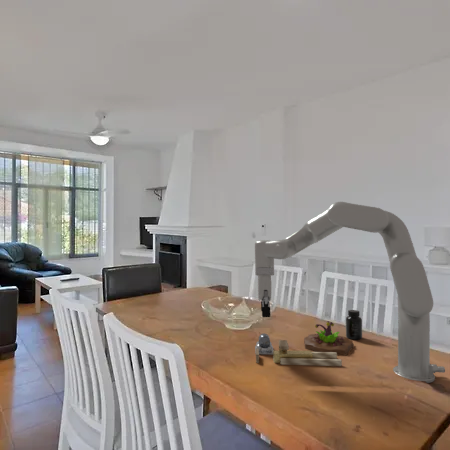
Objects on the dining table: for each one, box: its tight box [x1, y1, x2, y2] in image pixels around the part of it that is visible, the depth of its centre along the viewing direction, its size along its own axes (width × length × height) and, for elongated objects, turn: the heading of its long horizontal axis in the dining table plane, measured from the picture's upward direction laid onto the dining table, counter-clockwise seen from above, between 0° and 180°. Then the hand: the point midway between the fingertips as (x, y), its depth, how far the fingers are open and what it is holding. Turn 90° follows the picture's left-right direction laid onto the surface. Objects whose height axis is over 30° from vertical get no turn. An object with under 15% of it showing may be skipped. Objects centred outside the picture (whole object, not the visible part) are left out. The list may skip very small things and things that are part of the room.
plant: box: [303, 320, 354, 356], centre depth 147 cm, size 20×20×11 cm
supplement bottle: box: [345, 309, 363, 341], centre depth 158 cm, size 7×7×12 cm
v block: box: [254, 340, 274, 356], centre depth 142 cm, size 8×7×3 cm
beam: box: [255, 339, 343, 367], centre depth 131 cm, size 30×8×6 cm, turn 86°
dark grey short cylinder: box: [258, 333, 271, 348], centre depth 141 cm, size 5×4×4 cm
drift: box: [272, 349, 314, 364], centre depth 131 cm, size 14×4×4 cm, turn 89°
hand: (265, 313), depth 141 cm, fingers open, 9 cm apart
